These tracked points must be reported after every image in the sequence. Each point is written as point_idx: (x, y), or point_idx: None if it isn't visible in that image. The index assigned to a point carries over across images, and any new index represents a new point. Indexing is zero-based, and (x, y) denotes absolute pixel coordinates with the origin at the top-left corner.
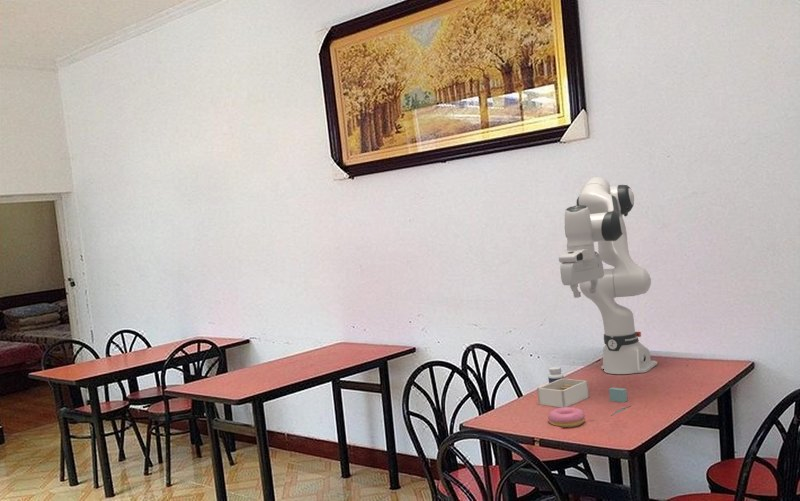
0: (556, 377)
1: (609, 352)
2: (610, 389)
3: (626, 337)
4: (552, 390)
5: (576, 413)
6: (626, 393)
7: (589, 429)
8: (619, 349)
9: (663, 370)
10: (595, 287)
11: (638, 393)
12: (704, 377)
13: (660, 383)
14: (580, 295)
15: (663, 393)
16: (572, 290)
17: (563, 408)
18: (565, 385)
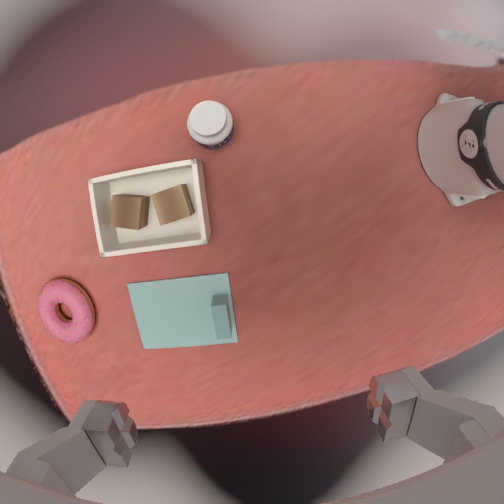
0: (194, 138)
1: (454, 131)
2: (211, 309)
3: (495, 182)
4: (95, 226)
5: (65, 340)
6: (231, 332)
7: (76, 355)
8: (465, 162)
9: (473, 228)
10: (412, 437)
11: (305, 299)
12: (446, 324)
13: (392, 287)
14: (132, 442)
15: (326, 338)
16: (48, 441)
17: (65, 302)
18: (175, 191)
